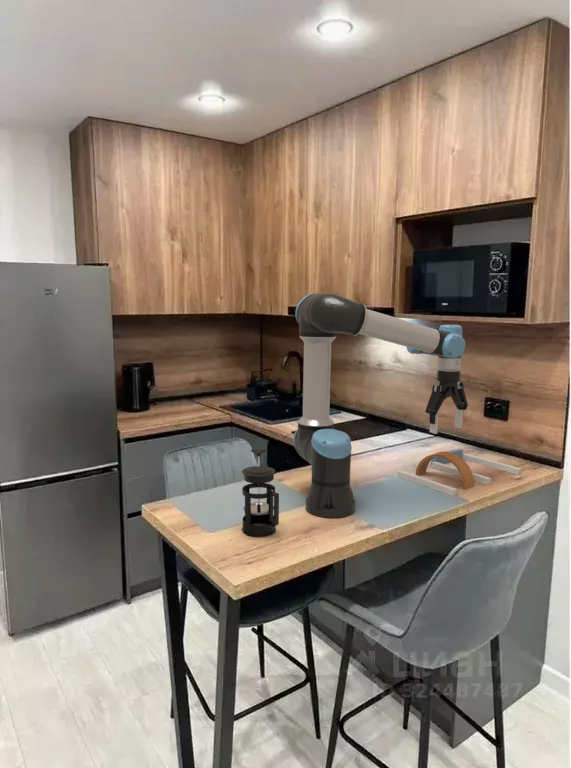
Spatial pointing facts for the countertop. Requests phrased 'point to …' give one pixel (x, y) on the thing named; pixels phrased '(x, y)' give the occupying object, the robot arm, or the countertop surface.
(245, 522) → the french press
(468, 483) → the arch
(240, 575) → the countertop surface
